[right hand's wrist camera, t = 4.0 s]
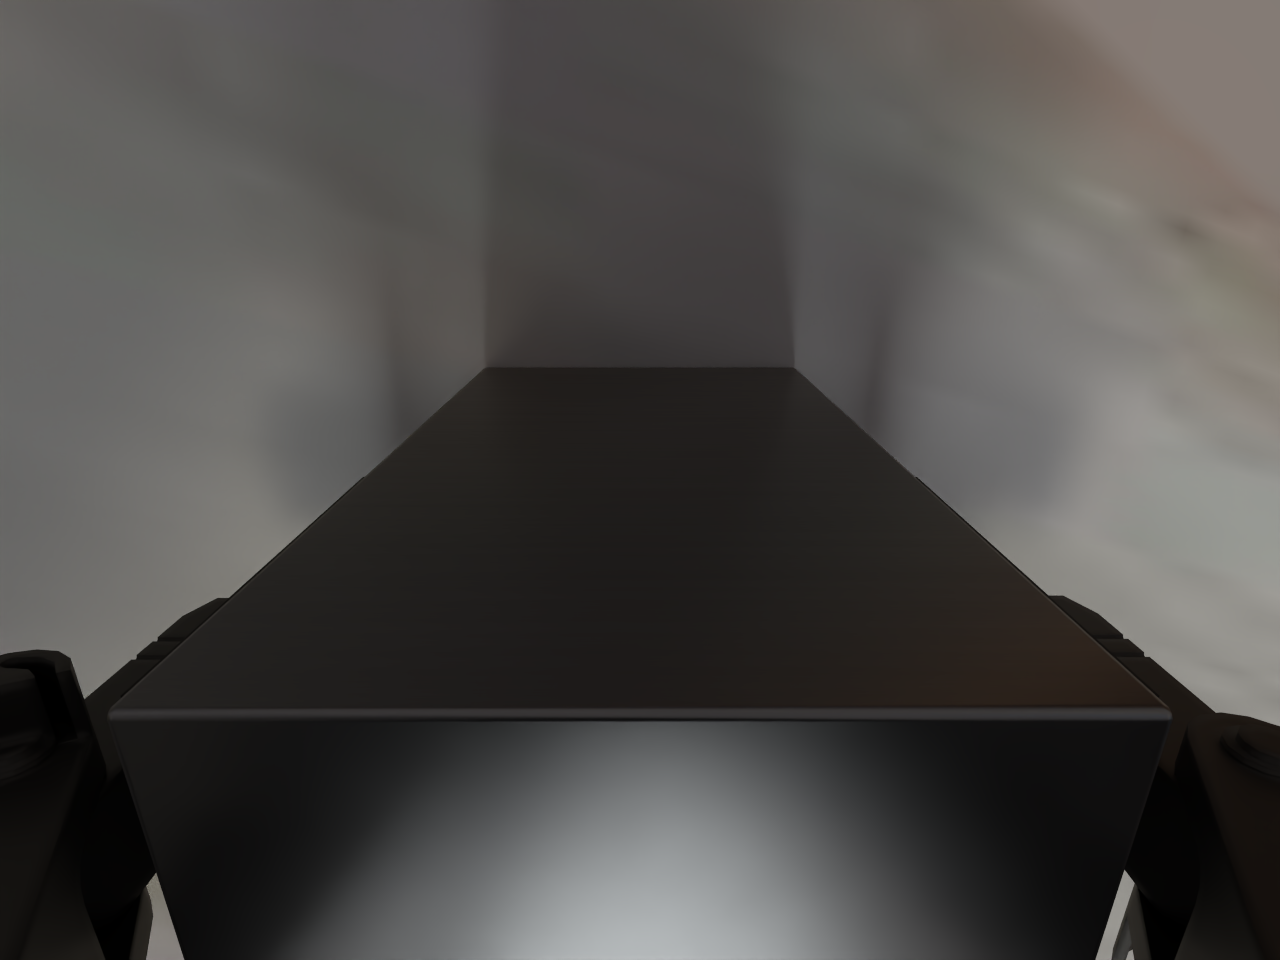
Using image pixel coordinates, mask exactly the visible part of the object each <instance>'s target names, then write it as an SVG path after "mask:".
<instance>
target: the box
mask: <svg viewBox="0 0 1280 960" xmlns="http://www.w3.org/2000/svg"><path fill="white" fill-rule="evenodd" d="M1172 720H1173V718H1172V712H1171V710H1170V709H1169V707H1168V706H1167V705H1166V704H1165V703H1164V702H1162V701H1161V700H1160V699H1159V698H1158V697H1157V696H1156V695H1155V694H1154V693H1152V692H1151V691H1150V690H1149V689H1148V688H1147V687H1146V686H1145V685H1144V684H1143V683H1141V682H1140V681H1139V680H1138V679H1137V678H1136V677H1135V676H1134V675H1133V674H1132V673H1130V672H1129V671H1128V670H1127V669H1126V668H1125V667H1124V666H1123V665H1122V664H1121V663H1119V662H1118V661H1117V660H1116V659H1115V658H1114V657H1113V656H1112V655H1111V654H1109V653H1108V652H1107V651H1106V650H1105V649H1104V648H1103V647H1102V646H1101V645H1100V644H1098V643H1097V642H1096V641H1095V640H1094V639H1093V638H1092V637H1091V636H1090V635H1089V634H1087V633H1086V632H1085V631H1084V630H1083V629H1082V628H1081V627H1080V626H1079V625H1078V624H1076V623H1075V622H1074V621H1073V620H1072V619H1071V618H1070V617H1069V616H1068V615H1066V614H1065V613H1064V612H1063V611H1062V610H1061V609H1060V608H1059V607H1058V606H1057V605H1055V604H1054V603H1053V602H1052V601H1051V600H1050V599H1049V598H1048V597H1047V596H1046V595H1044V594H1043V593H1042V592H1041V591H1040V590H1039V589H1038V588H1037V587H1036V586H1035V585H1033V584H1032V583H1031V582H1030V581H1029V580H1028V579H1027V578H1026V577H1025V576H1023V575H1022V574H1021V573H1020V572H1019V571H1018V570H1017V569H1016V568H1015V567H1014V566H1012V565H1011V564H1010V563H1009V562H1008V561H1007V560H1006V559H1005V558H1004V557H1003V556H1001V555H1000V554H999V553H998V552H997V551H996V550H995V549H994V548H993V547H992V546H990V545H989V544H988V543H987V542H986V541H985V540H984V539H983V538H982V537H980V536H979V535H978V534H977V533H976V532H975V531H974V530H973V529H972V528H971V527H969V526H968V525H967V524H966V523H965V522H964V521H963V520H962V519H961V518H960V517H958V516H957V515H956V514H955V513H954V512H953V511H952V510H951V509H950V508H949V507H947V506H946V505H945V504H944V503H943V502H942V501H941V500H940V499H939V498H937V497H936V496H935V495H934V494H933V493H932V492H931V491H930V490H929V489H928V488H926V487H925V486H924V485H923V484H922V483H921V482H920V481H919V480H918V479H917V478H915V477H914V476H913V475H912V474H911V473H910V472H909V471H908V470H907V469H905V468H904V467H903V466H902V465H901V464H900V463H899V462H898V461H897V460H896V459H894V458H893V457H892V456H891V455H890V454H889V453H888V452H887V451H886V450H885V449H883V448H882V447H881V446H880V445H879V444H878V443H877V442H876V441H875V440H874V439H872V438H871V437H870V436H869V435H868V434H867V433H866V432H865V431H864V430H862V429H861V428H860V427H859V426H858V425H857V424H856V423H855V422H854V421H853V420H851V419H850V418H849V417H848V416H847V415H846V414H845V413H844V412H843V411H842V410H840V409H839V408H838V407H837V406H836V405H835V404H834V403H833V402H832V401H831V400H829V399H828V398H827V397H826V396H825V395H824V394H823V393H822V392H821V391H819V390H818V389H817V388H816V387H815V386H814V385H813V384H812V383H811V382H810V381H808V380H807V379H806V378H805V377H804V376H803V375H802V374H801V373H800V372H799V371H797V370H796V369H795V368H485V369H483V370H482V371H481V372H480V373H479V374H478V375H477V376H476V377H475V378H473V379H472V380H471V381H470V382H469V383H468V384H467V385H466V386H465V387H464V388H462V389H461V390H460V391H459V392H458V393H457V394H456V395H455V396H454V397H453V398H451V399H450V400H449V401H448V402H447V403H446V404H445V405H444V406H443V407H442V408H440V409H439V410H438V411H437V412H436V413H435V414H434V415H433V416H432V417H430V418H429V419H428V420H427V421H426V422H425V423H424V424H423V425H422V426H421V427H419V428H418V429H417V430H416V431H415V432H414V433H413V434H412V435H411V436H410V437H408V438H407V439H406V440H405V441H404V442H403V443H402V444H401V445H400V446H399V447H397V448H396V449H395V450H394V451H393V452H392V453H391V454H390V455H389V456H388V457H386V458H385V459H384V460H383V461H382V462H381V463H380V464H379V465H378V466H376V467H375V468H374V469H373V470H372V471H371V472H370V473H369V474H368V475H367V476H365V477H364V478H363V479H362V480H361V481H360V482H359V483H358V484H357V485H356V486H354V487H353V488H352V489H351V490H350V491H349V492H348V493H347V494H346V495H345V496H343V497H342V498H341V499H340V500H339V501H338V502H337V503H336V504H335V505H333V506H332V507H331V508H330V509H329V510H328V511H327V512H326V513H325V514H324V515H322V516H321V517H320V518H319V519H318V520H317V521H316V522H315V523H314V524H313V525H311V526H310V527H309V528H308V529H307V530H306V531H305V532H304V533H303V534H302V535H300V536H299V537H298V538H297V539H296V540H295V541H294V542H293V543H292V544H291V545H289V546H288V547H287V548H286V549H285V550H284V551H283V552H282V553H281V554H279V555H278V556H277V557H276V558H275V559H274V560H273V561H272V562H271V563H270V564H268V565H267V566H266V567H265V568H264V569H263V570H262V571H261V572H260V573H259V574H257V575H256V576H255V577H254V578H253V579H252V580H251V581H250V582H249V583H248V584H246V585H245V586H244V587H243V588H242V589H241V590H240V591H239V592H238V593H236V594H235V595H234V596H233V597H232V598H231V599H230V600H229V601H228V602H227V603H225V604H224V605H223V606H222V607H221V608H220V609H219V610H218V611H217V612H216V613H214V614H213V615H212V616H211V617H210V618H209V619H208V620H207V621H206V622H205V623H203V624H202V625H201V626H200V627H199V628H198V629H197V630H196V631H195V632H194V633H192V634H191V635H190V636H189V637H188V638H187V639H186V640H185V641H184V642H182V643H181V644H180V645H179V646H178V647H177V648H176V649H175V650H174V651H173V652H171V653H170V654H169V655H168V656H167V657H166V658H165V659H164V660H163V661H162V662H160V663H159V664H158V665H157V666H156V667H155V668H154V669H153V670H152V671H151V672H149V673H148V674H147V675H146V676H145V677H144V678H143V679H142V680H141V681H140V682H138V683H137V684H136V685H135V686H134V687H133V688H132V689H131V690H130V691H128V692H127V693H126V694H125V695H124V696H123V697H122V698H121V699H120V700H119V701H117V702H116V703H115V704H114V705H113V706H112V707H111V708H110V710H109V712H108V716H107V721H108V724H109V728H110V731H111V734H112V737H113V740H114V743H115V746H116V749H117V752H118V755H119V758H120V762H121V765H122V768H123V771H124V774H125V777H126V780H127V783H128V786H129V789H130V793H131V796H132V799H133V802H134V805H135V808H136V811H137V814H138V817H139V820H140V824H141V827H142V830H143V833H144V836H145V839H146V842H147V845H148V848H149V851H150V855H151V858H152V861H153V864H154V867H155V870H156V873H157V876H158V879H159V882H160V885H161V889H162V892H163V895H164V898H165V901H166V904H167V907H168V910H169V913H170V916H171V920H172V923H173V926H174V929H175V932H176V935H177V938H178V941H179V944H180V947H181V951H182V954H183V957H184V960H1095V959H1096V956H1097V953H1098V950H1099V947H1100V943H1101V940H1102V937H1103V934H1104V931H1105V928H1106V925H1107V922H1108V919H1109V915H1110V912H1111V909H1112V906H1113V903H1114V900H1115V897H1116V894H1117V891H1118V888H1119V884H1120V881H1121V878H1122V875H1123V872H1124V869H1125V866H1126V863H1127V860H1128V857H1129V853H1130V850H1131V847H1132V844H1133V841H1134V838H1135V835H1136V832H1137V829H1138V826H1139V822H1140V819H1141V816H1142V813H1143V810H1144V807H1145V804H1146V801H1147V798H1148V795H1149V791H1150V788H1151V785H1152V782H1153V779H1154V776H1155V773H1156V770H1157V767H1158V764H1159V760H1160V757H1161V754H1162V751H1163V748H1164V745H1165V742H1166V739H1167V736H1168V733H1169V729H1170V726H1171V723H1172Z"/></svg>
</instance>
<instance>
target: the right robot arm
mask: <svg viewBox="0 0 1280 960" xmlns="http://www.w3.org/2000/svg"><path fill="white" fill-rule="evenodd" d="M363 478H364V477H363ZM363 478H362V479H363ZM915 478H917V477H915ZM362 479H360V480H359V481H358V482H357V483H356V484H355V485H354V486H356V485H357V484H358V483H359V482H360V481H361V480H362ZM917 479H918V478H917ZM918 480H919V481H920V482H921V483H922V484H923V485H924V486H925V487H926V488H928V487H927V486H926V485H925V484H924V483H923V482H922V481H921V480H920V479H918ZM354 486H353V487H354ZM353 487H352V488H353ZM352 488H350V489H349V490H348V491H347V492H346V493H345V494H344V495H343V496H345V495H346V494H347V493H348V492H349V491H350V490H351V489H352ZM928 489H929V490H930V491H931V492H932V493H933V494H934V495H935V496H936V497H937V498H939V499H940V500H941V501H942V502H943V503H944V504H945V505H946V506H947V507H949V508H950V509H951V510H952V511H953V512H954V513H955V514H956V515H957V516H958V517H960V518H961V519H962V520H963V521H964V522H965V523H966V524H967V525H968V526H969V527H971V528H972V529H973V530H974V531H975V532H976V533H977V534H978V535H979V536H980V537H982V538H983V539H984V540H985V541H986V542H987V543H988V544H989V545H990V546H992V547H993V548H994V549H995V550H996V551H997V552H998V553H999V554H1000V555H1001V556H1003V557H1004V558H1005V559H1006V560H1007V561H1008V562H1009V563H1010V564H1011V565H1012V566H1014V567H1015V568H1016V569H1017V570H1018V571H1019V572H1020V573H1021V574H1022V575H1023V576H1025V577H1026V578H1027V579H1028V580H1029V581H1030V582H1031V583H1032V584H1033V585H1035V586H1036V587H1037V588H1038V589H1039V590H1040V591H1041V592H1042V593H1043V594H1044V595H1046V596H1047V597H1048V598H1049V599H1050V600H1051V601H1052V602H1053V603H1054V604H1055V605H1057V606H1058V607H1059V608H1060V609H1061V610H1062V611H1063V612H1064V613H1065V614H1066V615H1068V616H1069V617H1070V618H1071V619H1072V620H1073V621H1074V622H1075V623H1076V624H1078V625H1079V626H1080V627H1081V628H1082V629H1083V630H1084V631H1085V632H1086V633H1087V634H1089V635H1090V636H1091V637H1092V638H1093V639H1094V640H1095V641H1096V642H1097V643H1098V644H1100V645H1101V646H1102V647H1103V648H1104V649H1105V650H1106V651H1107V652H1108V653H1109V654H1111V655H1112V656H1113V657H1114V658H1115V659H1116V660H1117V661H1118V662H1119V663H1121V664H1122V665H1123V666H1124V667H1125V668H1126V669H1127V670H1128V671H1129V672H1130V673H1132V674H1133V675H1134V676H1135V677H1136V678H1137V679H1138V680H1139V681H1140V682H1141V683H1143V684H1144V685H1145V686H1146V687H1147V688H1148V689H1149V690H1150V691H1151V692H1152V693H1154V694H1155V695H1156V696H1157V697H1158V698H1159V699H1160V700H1161V701H1162V702H1164V703H1165V704H1166V705H1167V706H1168V707H1169V709H1170V710H1171V712H1172V718H1173V720H1172V723H1171V726H1170V729H1169V733H1168V736H1167V739H1166V742H1165V745H1164V748H1163V751H1162V754H1161V757H1160V760H1159V764H1158V767H1157V770H1156V773H1155V776H1154V779H1153V782H1152V785H1151V788H1150V791H1149V795H1148V798H1147V801H1146V804H1145V807H1144V810H1143V813H1142V816H1141V819H1140V822H1139V826H1138V829H1137V832H1136V835H1135V838H1134V841H1133V844H1132V847H1131V850H1130V853H1129V857H1128V860H1127V863H1126V866H1125V871H1126V872H1127V873H1128V875H1129V876H1130V877H1131V879H1132V880H1133V881H1134V883H1135V884H1134V887H1133V890H1132V893H1131V896H1130V899H1129V902H1128V905H1127V908H1126V911H1125V914H1124V917H1123V920H1122V923H1121V926H1120V929H1119V932H1118V935H1117V938H1116V941H1115V944H1114V947H1113V953H1112V960H1126V957H1127V955H1128V952H1129V951H1130V950H1132V949H1133V954H1134V960H1280V726H1277V725H1274V724H1270V723H1267V722H1264V721H1261V720H1258V719H1255V718H1251V717H1248V716H1241V715H1234V714H1228V713H1215V712H1214V711H1213V710H1212V709H1211V708H1209V707H1208V706H1207V705H1206V704H1205V703H1203V702H1202V701H1201V700H1200V699H1199V698H1198V697H1196V696H1195V695H1194V694H1193V693H1192V692H1190V691H1189V690H1188V689H1187V688H1186V687H1184V686H1183V685H1182V684H1181V683H1180V682H1179V681H1177V680H1176V679H1175V678H1174V677H1173V676H1171V675H1170V674H1169V673H1168V672H1167V671H1165V670H1164V669H1163V668H1162V667H1161V666H1160V665H1158V664H1157V663H1156V662H1155V661H1154V660H1152V659H1151V658H1150V657H1145V656H1144V652H1143V651H1142V650H1141V649H1139V648H1138V647H1137V646H1136V645H1135V644H1133V643H1132V642H1131V641H1130V640H1129V639H1123V634H1122V633H1120V632H1119V631H1118V630H1117V629H1116V628H1114V627H1113V626H1112V625H1111V624H1110V623H1109V622H1107V621H1106V620H1105V619H1104V618H1103V617H1101V616H1100V615H1099V614H1098V613H1096V612H1094V611H1092V610H1090V609H1088V608H1086V607H1084V606H1082V605H1080V604H1078V603H1076V602H1074V601H1072V600H1070V599H1069V598H1067V597H1065V596H1048V595H1047V594H1046V593H1045V592H1044V591H1043V590H1042V589H1041V588H1039V587H1038V586H1037V585H1036V584H1035V583H1034V582H1033V581H1032V580H1031V579H1029V578H1028V577H1027V576H1026V575H1025V574H1024V573H1023V572H1022V571H1021V570H1019V569H1018V568H1017V567H1016V566H1015V565H1014V564H1013V563H1012V562H1011V561H1009V560H1008V559H1007V558H1006V557H1005V556H1004V555H1003V554H1002V553H1001V552H999V551H998V550H997V549H996V548H995V547H994V546H993V545H992V544H991V543H989V542H988V541H987V540H986V539H985V538H984V537H983V536H982V535H981V534H979V533H978V532H977V531H976V530H975V529H974V528H973V527H972V526H971V525H969V524H968V523H967V522H966V521H965V520H964V519H963V518H962V517H961V516H960V515H958V514H957V513H956V512H955V511H954V510H953V509H952V508H951V507H950V506H948V505H947V504H946V503H945V502H944V501H943V500H942V499H941V498H940V497H938V496H937V495H936V494H935V493H934V492H933V491H932V490H931V489H930V488H928ZM343 496H342V497H343ZM342 497H340V498H339V499H338V500H337V501H336V502H335V503H334V504H333V505H335V504H336V503H337V502H338V501H339V500H340V499H341V498H342ZM333 505H332V506H333ZM332 506H331V507H332ZM331 507H329V508H328V509H327V510H326V511H325V512H324V513H323V514H322V515H324V514H325V513H326V512H327V511H328V510H329V509H330V508H331ZM322 515H321V516H322ZM321 516H319V517H318V518H317V519H316V520H315V521H314V522H313V523H312V524H311V525H313V524H314V523H315V522H316V521H317V520H318V519H319V518H320V517H321ZM311 525H309V526H308V527H307V528H306V529H305V530H304V531H303V532H302V533H301V534H299V535H298V536H297V537H296V538H295V539H294V540H293V541H292V542H291V543H289V544H288V545H287V546H286V547H285V548H284V549H283V550H282V551H281V552H279V553H278V554H277V555H276V556H275V557H274V558H273V559H272V560H271V561H269V562H268V563H267V564H266V565H265V566H264V567H263V568H262V569H261V570H259V571H258V572H257V573H256V574H255V575H254V576H253V577H252V578H251V579H249V580H248V581H247V582H246V583H245V584H244V585H243V586H242V587H241V588H239V589H238V590H237V591H236V592H235V593H234V594H233V595H232V596H231V597H229V598H217V599H215V600H213V601H211V602H209V603H207V604H205V605H203V606H201V607H199V608H197V609H195V610H194V611H192V612H190V613H188V614H186V615H184V616H182V617H181V618H180V619H179V620H178V621H176V622H175V623H174V624H173V625H172V626H170V627H169V628H168V629H167V630H166V631H165V632H163V633H162V634H161V635H160V636H159V637H158V640H157V642H152V643H150V644H149V645H148V646H147V647H146V648H145V649H143V650H142V651H141V652H140V653H139V654H137V658H136V660H130V661H129V662H128V663H127V664H126V665H125V666H123V667H122V668H121V669H120V670H119V671H117V672H116V673H115V674H114V675H113V676H112V677H110V678H109V679H108V680H107V681H106V682H105V683H103V684H102V685H101V686H100V687H99V688H97V689H96V690H95V691H94V692H93V693H92V694H90V695H89V696H88V697H87V698H86V699H85V700H84V698H83V695H82V692H81V689H80V686H79V683H78V680H77V677H76V674H75V670H74V667H73V664H72V661H71V658H69V657H68V656H66V655H64V654H62V653H61V652H59V651H49V650H29V651H22V652H14V653H7V654H3V655H0V960H146V956H147V950H148V944H149V938H150V932H151V926H152V920H153V912H152V904H151V899H150V896H149V893H148V890H147V887H146V885H147V884H148V883H149V881H150V880H151V879H152V877H153V876H154V875H155V873H156V870H155V867H154V864H153V861H152V858H151V855H150V851H149V848H148V845H147V842H146V839H145V836H144V833H143V830H142V827H141V824H140V820H139V817H138V814H137V811H136V808H135V805H134V802H133V799H132V796H131V793H130V789H129V786H128V783H127V780H126V777H125V774H124V771H123V768H122V765H121V762H120V758H119V755H118V752H117V749H116V746H115V743H114V740H113V737H112V734H111V731H110V728H109V724H108V721H107V716H108V712H109V710H110V708H111V707H112V706H113V705H114V704H115V703H116V702H117V701H119V700H120V699H121V698H122V697H123V696H124V695H125V694H126V693H127V692H128V691H130V690H131V689H132V688H133V687H134V686H135V685H136V684H137V683H138V682H140V681H141V680H142V679H143V678H144V677H145V676H146V675H147V674H148V673H149V672H151V671H152V670H153V669H154V668H155V667H156V666H157V665H158V664H159V663H160V662H162V661H163V660H164V659H165V658H166V657H167V656H168V655H169V654H170V653H171V652H173V651H174V650H175V649H176V648H177V647H178V646H179V645H180V644H181V643H182V642H184V641H185V640H186V639H187V638H188V637H189V636H190V635H191V634H192V633H194V632H195V631H196V630H197V629H198V628H199V627H200V626H201V625H202V624H203V623H205V622H206V621H207V620H208V619H209V618H210V617H211V616H212V615H213V614H214V613H216V612H217V611H218V610H219V609H220V608H221V607H222V606H223V605H224V604H225V603H227V602H228V601H229V600H230V599H231V598H232V597H233V596H234V595H235V594H236V593H238V592H239V591H240V590H241V589H242V588H243V587H244V586H245V585H246V584H248V583H249V582H250V581H251V580H252V579H253V578H254V577H255V576H256V575H257V574H259V573H260V572H261V571H262V570H263V569H264V568H265V567H266V566H267V565H268V564H270V563H271V562H272V561H273V560H274V559H275V558H276V557H277V556H278V555H279V554H281V553H282V552H283V551H284V550H285V549H286V548H287V547H288V546H289V545H291V544H292V543H293V542H294V541H295V540H296V539H297V538H298V537H299V536H300V535H302V534H303V533H304V532H305V531H306V530H307V529H308V528H309V527H310V526H311Z"/></svg>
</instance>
